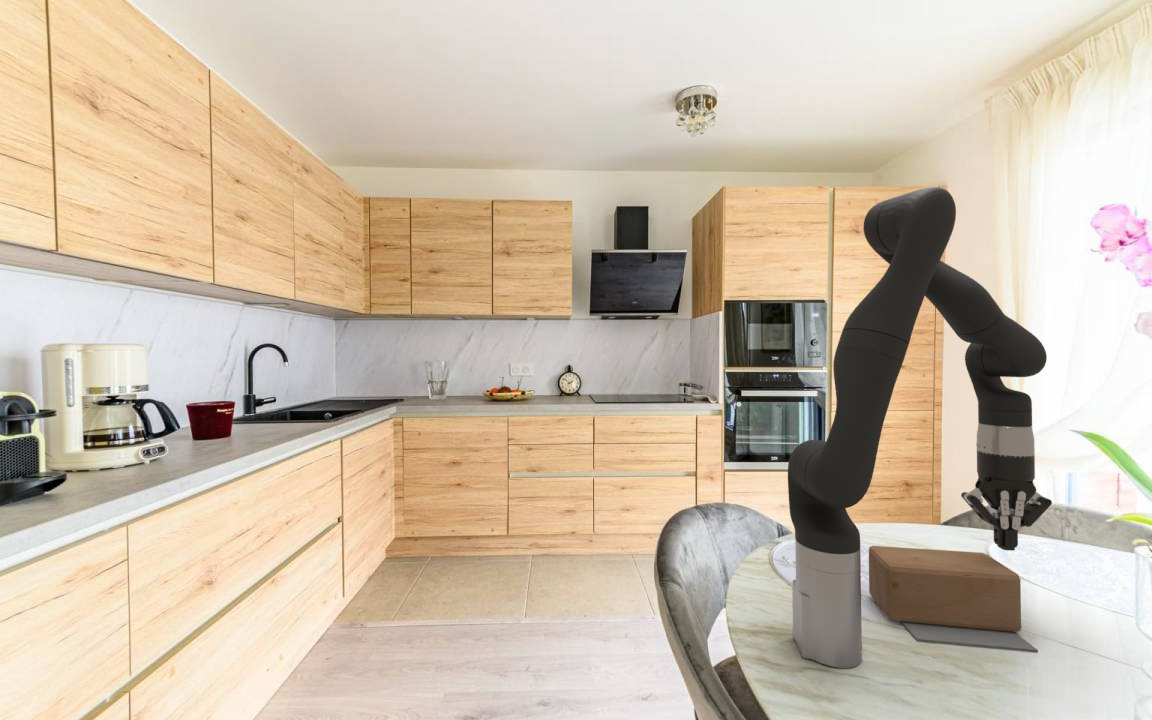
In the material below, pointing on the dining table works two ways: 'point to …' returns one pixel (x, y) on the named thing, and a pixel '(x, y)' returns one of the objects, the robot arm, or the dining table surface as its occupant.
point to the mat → (967, 636)
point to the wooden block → (945, 588)
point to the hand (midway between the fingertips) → (1005, 548)
